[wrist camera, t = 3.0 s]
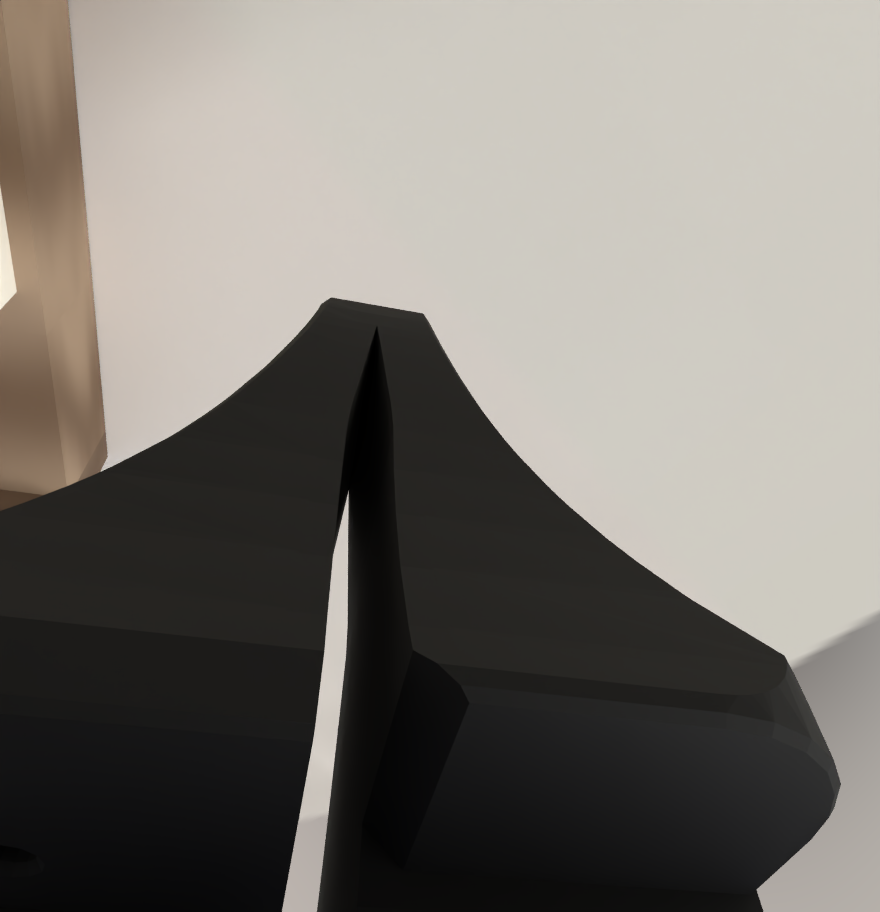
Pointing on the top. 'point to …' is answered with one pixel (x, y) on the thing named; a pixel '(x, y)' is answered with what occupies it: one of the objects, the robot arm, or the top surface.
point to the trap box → (45, 264)
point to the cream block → (5, 262)
